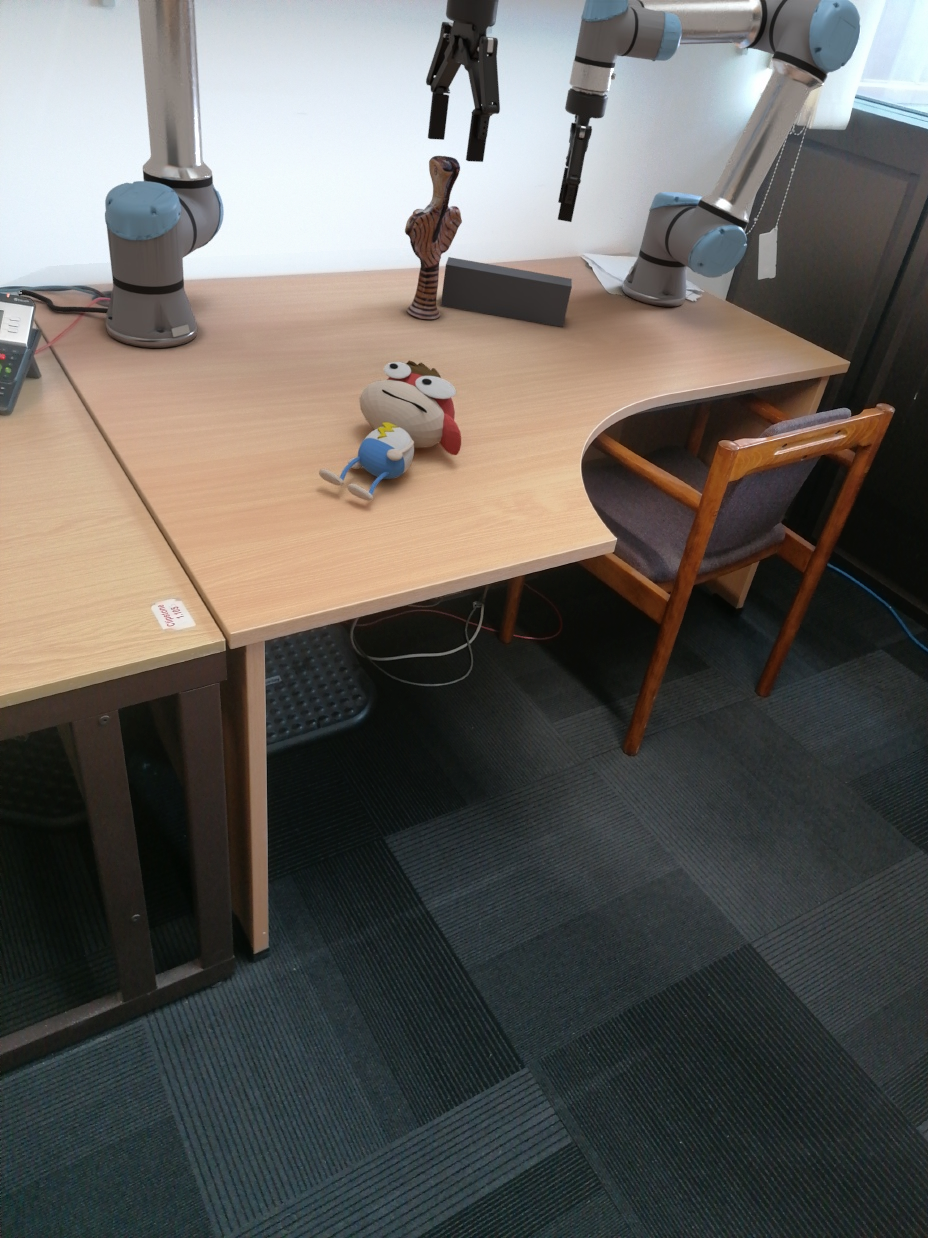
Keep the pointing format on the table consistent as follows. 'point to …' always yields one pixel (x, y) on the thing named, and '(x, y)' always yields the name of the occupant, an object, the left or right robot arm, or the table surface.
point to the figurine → (433, 234)
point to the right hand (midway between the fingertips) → (564, 211)
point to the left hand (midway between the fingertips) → (454, 149)
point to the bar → (505, 292)
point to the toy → (402, 423)
